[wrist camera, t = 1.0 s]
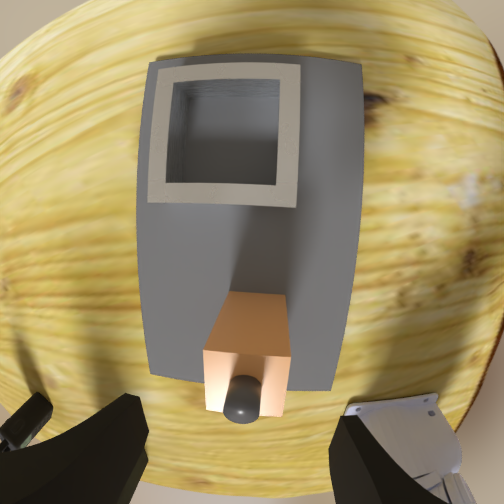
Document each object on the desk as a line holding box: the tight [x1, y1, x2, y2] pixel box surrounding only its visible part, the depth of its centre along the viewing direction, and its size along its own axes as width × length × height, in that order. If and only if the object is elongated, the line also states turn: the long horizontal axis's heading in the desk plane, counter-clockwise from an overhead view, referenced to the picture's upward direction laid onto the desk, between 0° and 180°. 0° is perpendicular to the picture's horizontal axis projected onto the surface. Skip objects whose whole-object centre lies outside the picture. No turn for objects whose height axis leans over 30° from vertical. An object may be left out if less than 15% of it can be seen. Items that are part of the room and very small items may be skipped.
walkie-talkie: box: [0, 392, 53, 452], centre depth 17 cm, size 5×3×15 cm
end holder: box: [147, 62, 300, 208], centre depth 14 cm, size 8×8×3 cm
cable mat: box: [136, 54, 364, 391], centre depth 17 cm, size 14×23×1 cm, turn 177°
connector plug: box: [203, 291, 291, 424], centre depth 13 cm, size 4×4×9 cm
